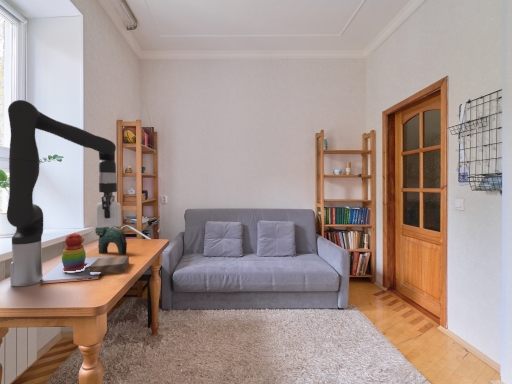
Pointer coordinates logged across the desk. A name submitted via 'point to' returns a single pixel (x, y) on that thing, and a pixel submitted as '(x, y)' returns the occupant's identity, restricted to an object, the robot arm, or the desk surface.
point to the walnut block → (110, 265)
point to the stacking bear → (74, 253)
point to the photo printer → (114, 216)
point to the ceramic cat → (111, 239)
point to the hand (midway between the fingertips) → (108, 217)
